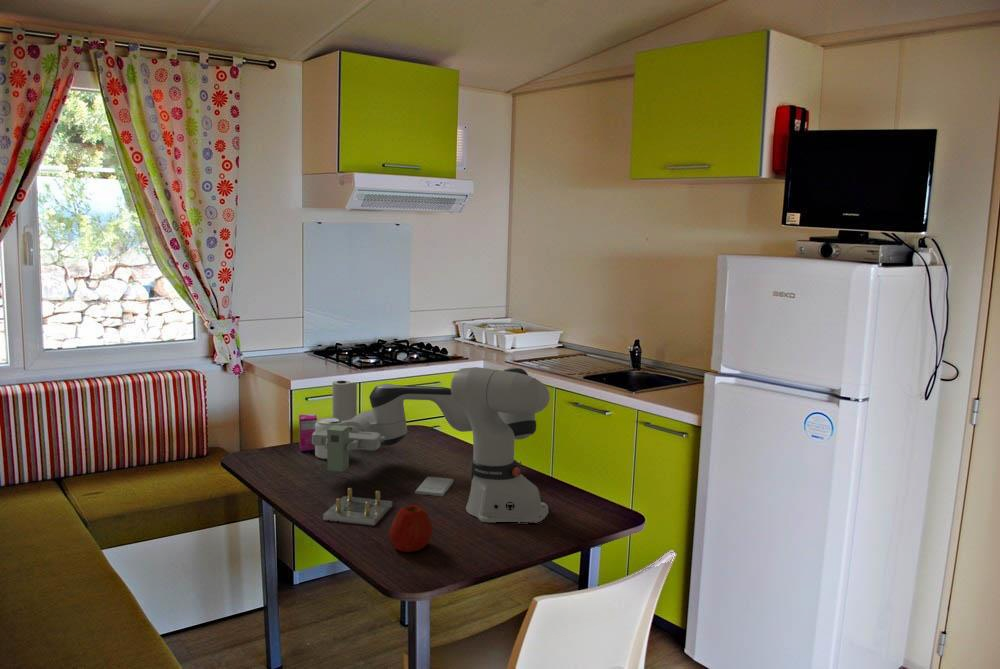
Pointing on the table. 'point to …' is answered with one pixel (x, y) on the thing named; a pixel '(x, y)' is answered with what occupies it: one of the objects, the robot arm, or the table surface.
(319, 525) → the table surface
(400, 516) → the apple
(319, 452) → the beverage can
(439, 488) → the external hard drive
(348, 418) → the paper towel roll
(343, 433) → the block
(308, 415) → the supplement box
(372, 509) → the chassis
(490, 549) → the table surface
